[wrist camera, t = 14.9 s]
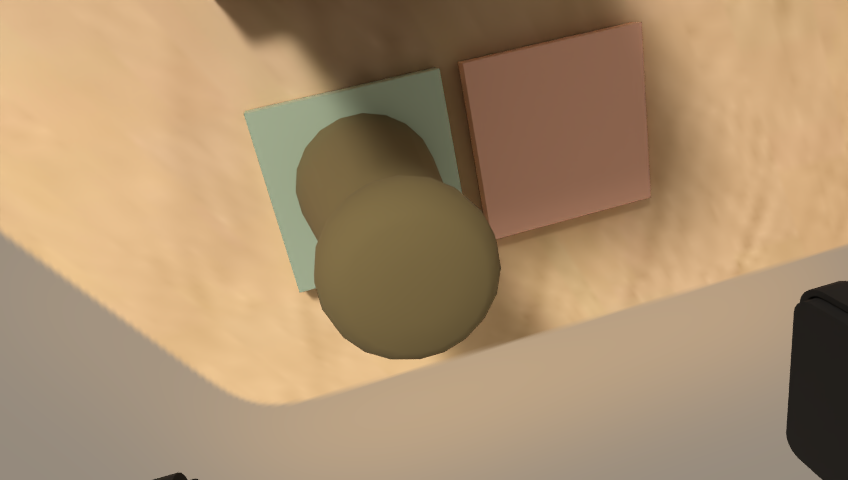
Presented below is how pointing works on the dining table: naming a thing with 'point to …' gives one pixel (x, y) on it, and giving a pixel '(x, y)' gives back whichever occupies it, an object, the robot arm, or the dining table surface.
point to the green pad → (303, 118)
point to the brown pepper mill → (393, 240)
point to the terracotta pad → (559, 128)
